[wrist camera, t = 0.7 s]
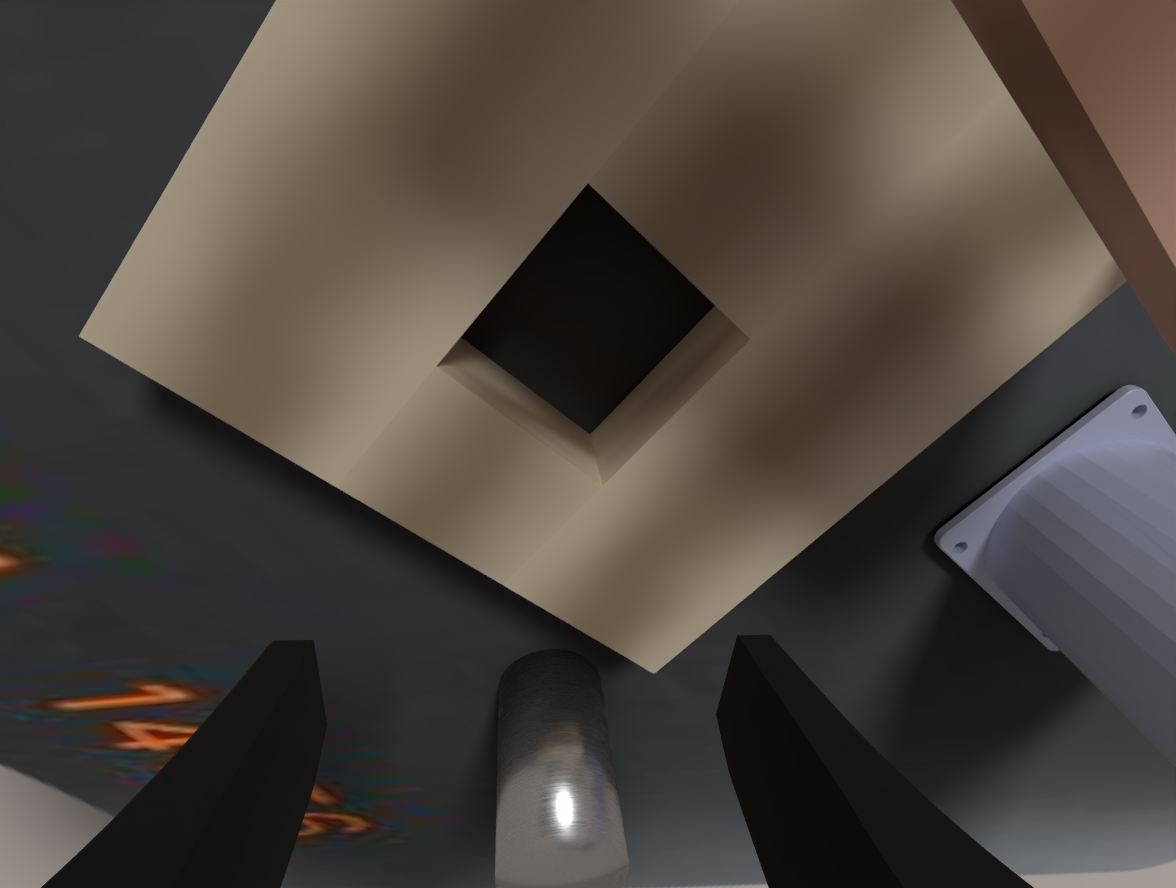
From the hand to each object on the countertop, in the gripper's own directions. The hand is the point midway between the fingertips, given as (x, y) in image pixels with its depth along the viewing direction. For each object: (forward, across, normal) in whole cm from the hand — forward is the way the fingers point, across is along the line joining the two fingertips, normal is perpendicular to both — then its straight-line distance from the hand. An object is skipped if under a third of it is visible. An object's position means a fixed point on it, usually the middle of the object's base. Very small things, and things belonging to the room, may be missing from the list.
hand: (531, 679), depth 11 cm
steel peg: (+10, -2, +11) cm, 15 cm away
